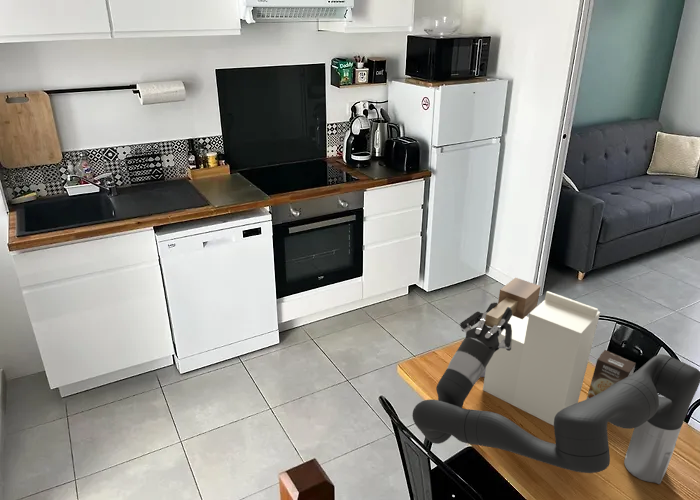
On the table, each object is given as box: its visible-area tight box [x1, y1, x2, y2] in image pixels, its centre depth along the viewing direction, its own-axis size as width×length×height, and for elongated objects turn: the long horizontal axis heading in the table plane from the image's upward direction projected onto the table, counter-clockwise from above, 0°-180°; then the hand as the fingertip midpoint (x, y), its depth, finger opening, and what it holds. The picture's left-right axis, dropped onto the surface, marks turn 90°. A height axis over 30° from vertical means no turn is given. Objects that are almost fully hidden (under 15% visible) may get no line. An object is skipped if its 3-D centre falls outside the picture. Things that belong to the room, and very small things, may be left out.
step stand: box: [482, 290, 601, 427], centre depth 156 cm, size 24×14×34 cm, turn 48°
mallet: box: [485, 277, 542, 328], centre depth 137 cm, size 7×20×6 cm, turn 139°
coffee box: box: [586, 349, 637, 399], centre depth 157 cm, size 9×6×16 cm
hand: (502, 306), depth 133 cm, fingers closed on mallet, 3 cm apart
